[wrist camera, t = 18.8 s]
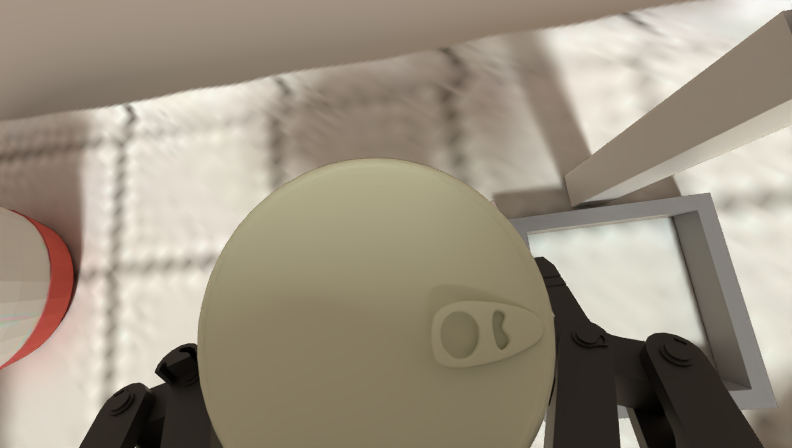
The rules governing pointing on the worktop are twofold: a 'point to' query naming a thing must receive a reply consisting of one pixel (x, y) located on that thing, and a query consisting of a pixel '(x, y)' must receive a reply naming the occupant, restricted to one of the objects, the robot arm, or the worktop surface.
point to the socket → (695, 214)
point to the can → (376, 317)
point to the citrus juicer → (30, 284)
